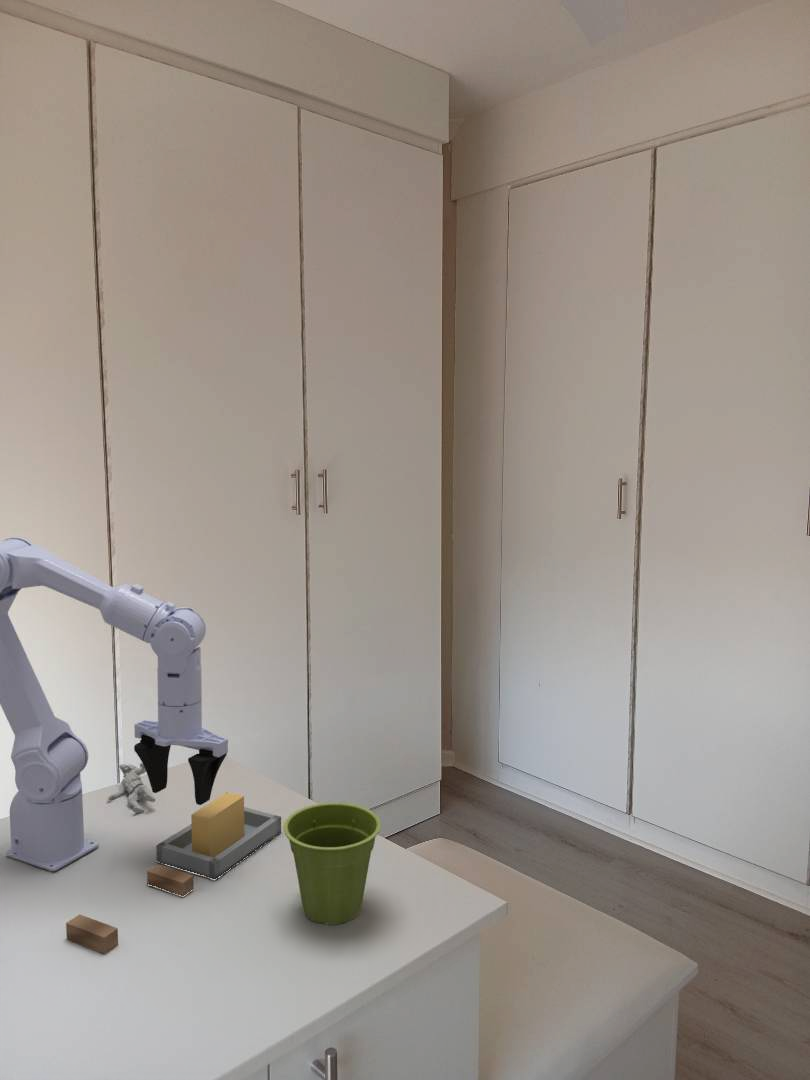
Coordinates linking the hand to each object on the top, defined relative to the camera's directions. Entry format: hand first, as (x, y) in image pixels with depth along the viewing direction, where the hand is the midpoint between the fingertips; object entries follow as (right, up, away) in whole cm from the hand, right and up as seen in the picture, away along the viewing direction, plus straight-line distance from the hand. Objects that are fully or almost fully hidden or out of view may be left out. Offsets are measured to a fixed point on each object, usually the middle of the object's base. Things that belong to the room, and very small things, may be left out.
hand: (180, 795), depth 116 cm
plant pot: (+22, -11, -11) cm, 27 cm away
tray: (+5, -8, +4) cm, 10 cm away
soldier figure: (-12, -7, +19) cm, 24 cm away
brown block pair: (-2, -11, -13) cm, 17 cm away
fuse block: (+4, -8, +3) cm, 10 cm away
